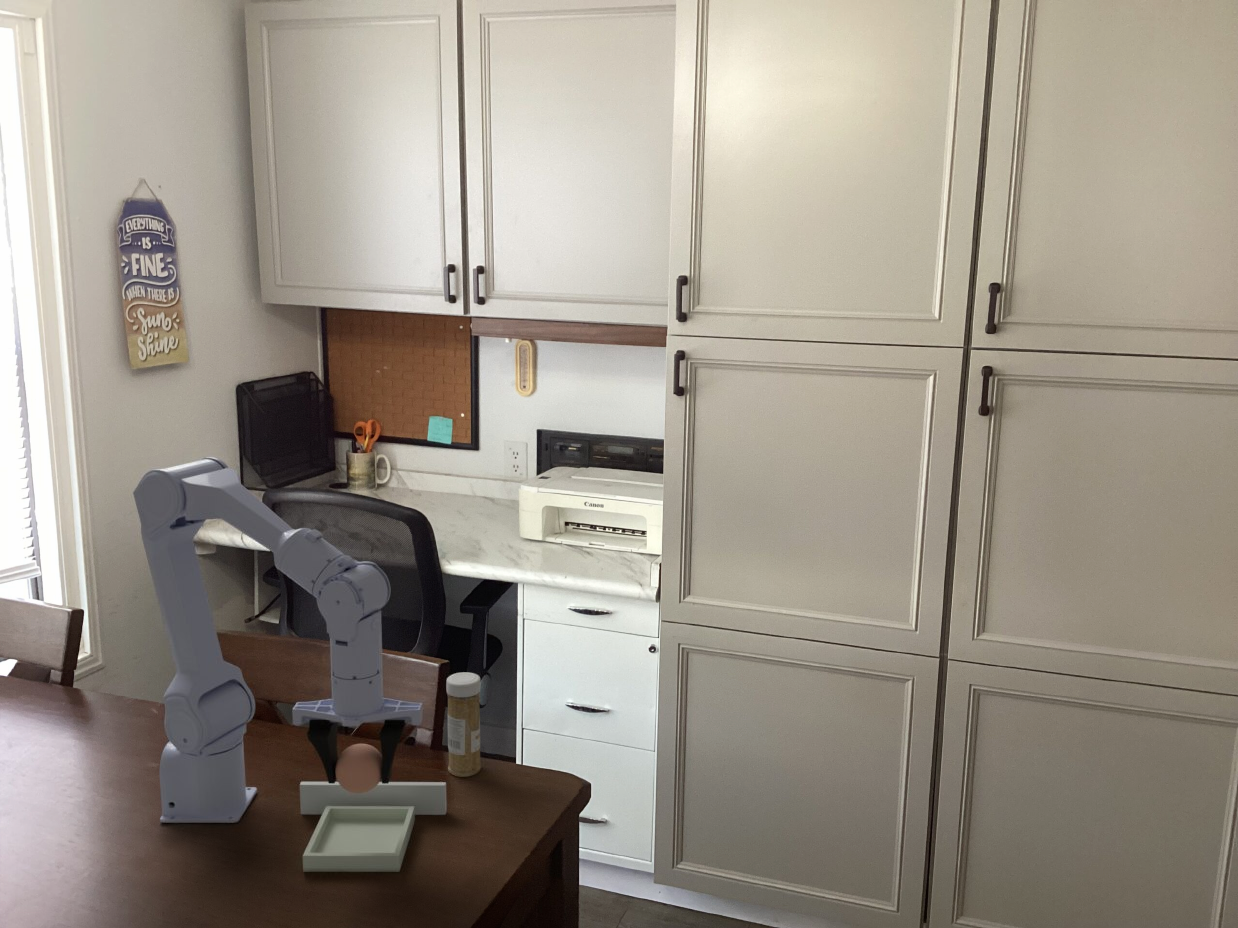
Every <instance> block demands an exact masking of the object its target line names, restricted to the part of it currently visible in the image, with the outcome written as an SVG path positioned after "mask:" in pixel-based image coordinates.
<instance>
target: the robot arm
mask: <svg viewBox="0 0 1238 928" xmlns="http://www.w3.org/2000/svg"><path fill="white" fill-rule="evenodd" d="M241 482H242V481H241V477H240V473H239V472H238V471H237V470H235V469H233V468H231V467H229V466H228V465H227V464H226V462H225V461H223V460H222V459H220V458H218V457H214V456H207V457H204V458H201V459H199V460H196V461H191V462H186V463H183V464H182V463H181V464H178V465H173V466H170V467H169V466H168V467H165V468H154V469H151V470H149V471H147V472H146V473H145V474H144V475H143V476H142V477H141V479H140V481H139V483H138V484H137V486H136V487H135V489H134V490H133V491H132V492H133V493H132V494H133V498H134V501H135V505H136V509H137V514H138V518H139V521H140V534H141V540H142V543H143V547H144V551H145V555H146V559H147V562H148V563H147V564H148V567H149V570H150V574H151V578H152V582H153V586H154V589H155V594H156V597H157V601H158V605H159V610H160V613H161V617H162V620H163V624H164V628H165V633H166V637H167V641H168V644H169V647H170V652H171V656H172V659H173V663H174V669H175V672H176V673H175V676H174V678H173V679H172V681H171V682H170V684H169V686H168V687H167V689H166V691H165V693H164V694H163V696H162V701H163V703H164V708H165V711H164V713H165V714H164V720H163V724H164V725H163V726H164V731H165V734H166V736H167V738H168V740H169V741H168V742H167V743H166V744H165V746H164V748H163V750H162V754H161V758H160V762H159V763H160V764H159V785H160V798H161V799H160V801H161V816H160V818H159V822H160V823H165V824H166V823H168V824H169V823H177V824H178V823H179V824H180V823H187V824H188V823H193V824H194V823H197V824H198V823H199V824H200V823H201V824H202V823H205V824H206V823H208V824H210V823H211V824H213V823H214V824H215V823H218V824H220V823H221V824H223V823H224V824H226V823H227V824H229V823H230V824H231V823H232V824H235V823H238V822H239V821H240V820H241V818H242V816H243V814H244V813H245V812H246V811H247V808H248V807H249V805H250V803H251V802H252V800H253V798H254V797H255V795H256V794H257V792H258V789H257V787H255V786H252V787H251V786H247V785H246V769H245V748H244V746H245V745H244V734H246V733H247V731H248V730H247V724H248V723H249V722H250V721H252V719H253V717H254V715H255V713H256V699H255V697H254V695H253V694H254V693H252V691H251V689H250V687H248V685H247V683H246V681H245V679H244V677H243V673H242V669H241V668H240V667H238V666H237V665H234V664H232V663H230V662H227V661H225V660H224V658H223V654H222V650H221V645H220V642H219V638H218V633H217V631H216V626H215V622H214V618H213V615H212V609H211V606H210V605H211V604H210V602H209V598H208V595H207V589H206V586H205V583H204V578H203V574H202V571H201V566H200V563H199V559H198V554H197V551H196V547H195V542H194V538H195V536H196V535H197V534H198V532H199V531H200V529H201V528H202V526H203V525H204V524H205V523H206V520H217V519H218V520H222V521H223V522H225V523H227V524H228V525H231V527H233V528H235V529H236V530H238V531H239V532H241V533H242V534H244V535H245V536H247V537H248V538H250V539H252V540H253V541H255V542H257V543H258V544H260V545H261V546H262V547H263V548H265V549H267V550H269V551H271V552H272V553H273V562H274V566H275V568H276V569H277V570H279V571H280V572H281V573H283V574H284V575H286V576H287V577H288V578H289V579H291V580H292V581H293V582H295V583H296V584H297V585H299V586H300V587H301V588H303V590H305V591H307V593H309V594H310V595H312V596H313V597H314V598H316V604H317V607H318V610H319V613H320V614H321V616H322V618H323V619H324V621H325V623H326V633H327V634H328V635H329V643H330V644H329V646H330V647H329V648H330V676H331V677H330V679H331V680H330V681H331V698H327V699H321V700H313V701H298V702H297V701H296V703H295V705H294V706H293V707H292V710H291V711H292V712H291V713H292V725H295V726H296V725H298V726H300V725H303V724H304V723H308V724H309V725H308V730H307V732H306V736H307V740H308V741H309V742H310V743H311V745H312V746H313V747H314V749H315V751H316V752H317V754H318V756H319V758H320V760H321V762H322V765H323V768H324V771H325V774H326V778H327V782H328V783H335V782H337V778H336V774H335V766H336V762H337V759H338V757H339V754H338V730H339V729H338V726H339V723H341V726H343V727H359V726H361V725H362V724H363V723H364V724H366V723H382V724H383V726H382V728H381V730H380V732H379V741H380V742H379V743H380V748H381V749H380V750H381V755H382V779H381V782H382V784H388V783H389V782H390V781H391V777H392V770H393V763H394V758H395V756H396V755H395V754H396V751H397V748H398V745H399V742H400V740H401V738H402V736H403V733H404V732H405V729H406V725H407V723H410V725H412V726H420V725H421V723H422V721H423V702H413V701H412V702H411V701H405V700H397V699H392V698H387V697H384V686H383V685H384V684H383V682H384V681H383V680H384V679H383V642H382V641H383V638H382V635H383V634H382V632H383V631H382V610H381V609H382V608H384V607H385V606H386V604H387V603H388V602H389V600H390V597H391V592H392V591H391V583H390V581H389V577H388V575H387V574H386V573H385V572H384V570H383V569H382V568H381V567H379V565H377V563H375V562H372V561H368V560H367V561H366V560H365V561H359V560H356V559H355V558H353V557H351V556H350V555H349V554H347V555H346V554H345V553H343V552H342V551H340V550H339V549H338V548H336V547H335V546H334V545H333V544H331V543H330V542H328V540H325V538H323V536H324V534H323V533H322V532H320V531H319V530H318V529H316V528H314V529H311V528H309V527H301V528H296V529H294V528H292V527H291V526H290V525H289V524H288V523H287V522H286V521H284V520H283V518H281V517H280V516H278V515H277V514H276V512H274V511H273V510H271V508H269V507H268V506H267V504H265V503H264V502H262V501H261V500H260V499H259V498H258V497H257V496H256V495H255V494H253V492H251V491H250V490H249V489H247V488H246V487H245V486H244V485H243V484H242V483H241Z"/></svg>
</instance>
